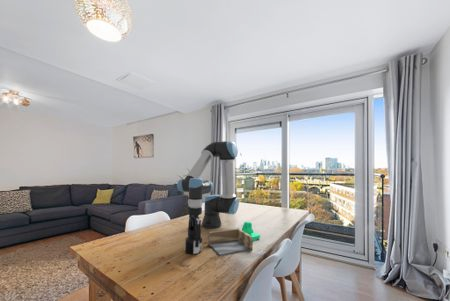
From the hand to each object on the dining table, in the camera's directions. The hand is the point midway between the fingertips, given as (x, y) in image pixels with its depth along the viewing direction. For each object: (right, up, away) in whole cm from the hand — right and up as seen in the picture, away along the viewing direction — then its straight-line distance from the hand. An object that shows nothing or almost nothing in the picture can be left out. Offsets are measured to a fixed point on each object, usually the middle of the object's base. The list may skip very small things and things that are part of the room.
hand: (193, 249), depth 107 cm
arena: (+20, -2, +7) cm, 21 cm away
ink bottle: (0, -1, 0) cm, 1 cm away
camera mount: (+33, -4, +21) cm, 39 cm away
